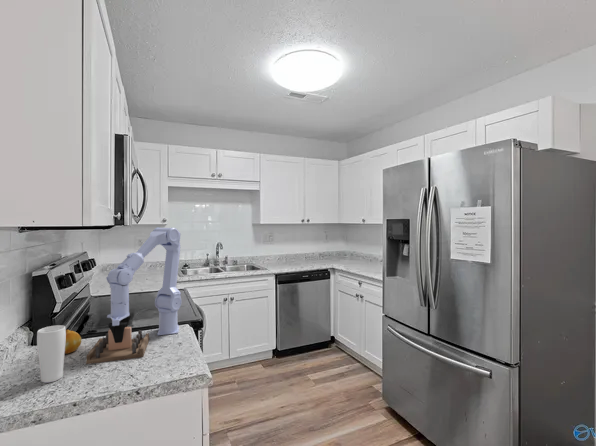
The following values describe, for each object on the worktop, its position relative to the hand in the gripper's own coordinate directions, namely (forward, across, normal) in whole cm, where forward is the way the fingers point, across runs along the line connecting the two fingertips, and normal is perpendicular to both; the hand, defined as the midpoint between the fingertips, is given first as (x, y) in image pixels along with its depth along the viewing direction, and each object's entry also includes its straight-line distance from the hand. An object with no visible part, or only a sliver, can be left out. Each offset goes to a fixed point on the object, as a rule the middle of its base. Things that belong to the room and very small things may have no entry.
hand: (120, 339), depth 114 cm
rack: (+4, 0, 0) cm, 4 cm away
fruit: (+4, -6, -18) cm, 20 cm away
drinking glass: (+4, +16, -15) cm, 22 cm away
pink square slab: (+3, 0, 0) cm, 3 cm away
